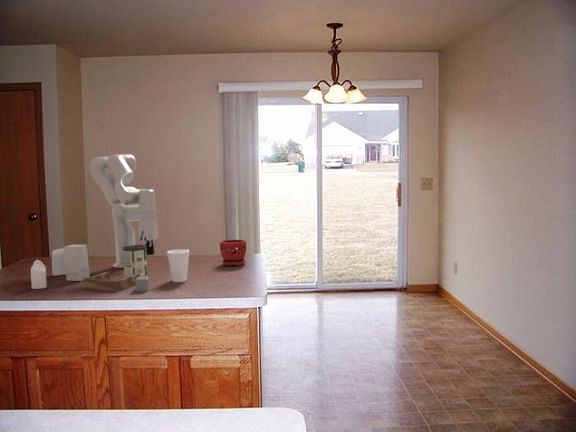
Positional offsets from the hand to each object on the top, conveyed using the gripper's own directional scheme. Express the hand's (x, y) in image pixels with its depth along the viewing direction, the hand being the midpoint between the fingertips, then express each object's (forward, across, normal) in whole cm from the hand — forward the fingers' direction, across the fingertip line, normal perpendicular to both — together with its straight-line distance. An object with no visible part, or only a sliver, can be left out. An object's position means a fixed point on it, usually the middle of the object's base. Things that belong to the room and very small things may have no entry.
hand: (150, 254), depth 273 cm
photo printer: (+8, +14, -38) cm, 41 cm away
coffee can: (+9, +12, -1) cm, 15 cm away
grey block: (+10, +32, +16) cm, 37 cm away
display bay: (+9, +28, -1) cm, 30 cm away
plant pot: (+9, -28, +30) cm, 42 cm away
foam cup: (+10, +12, +22) cm, 27 cm away
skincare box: (+8, +22, -24) cm, 34 cm away
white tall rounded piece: (+8, +40, -30) cm, 50 cm away
